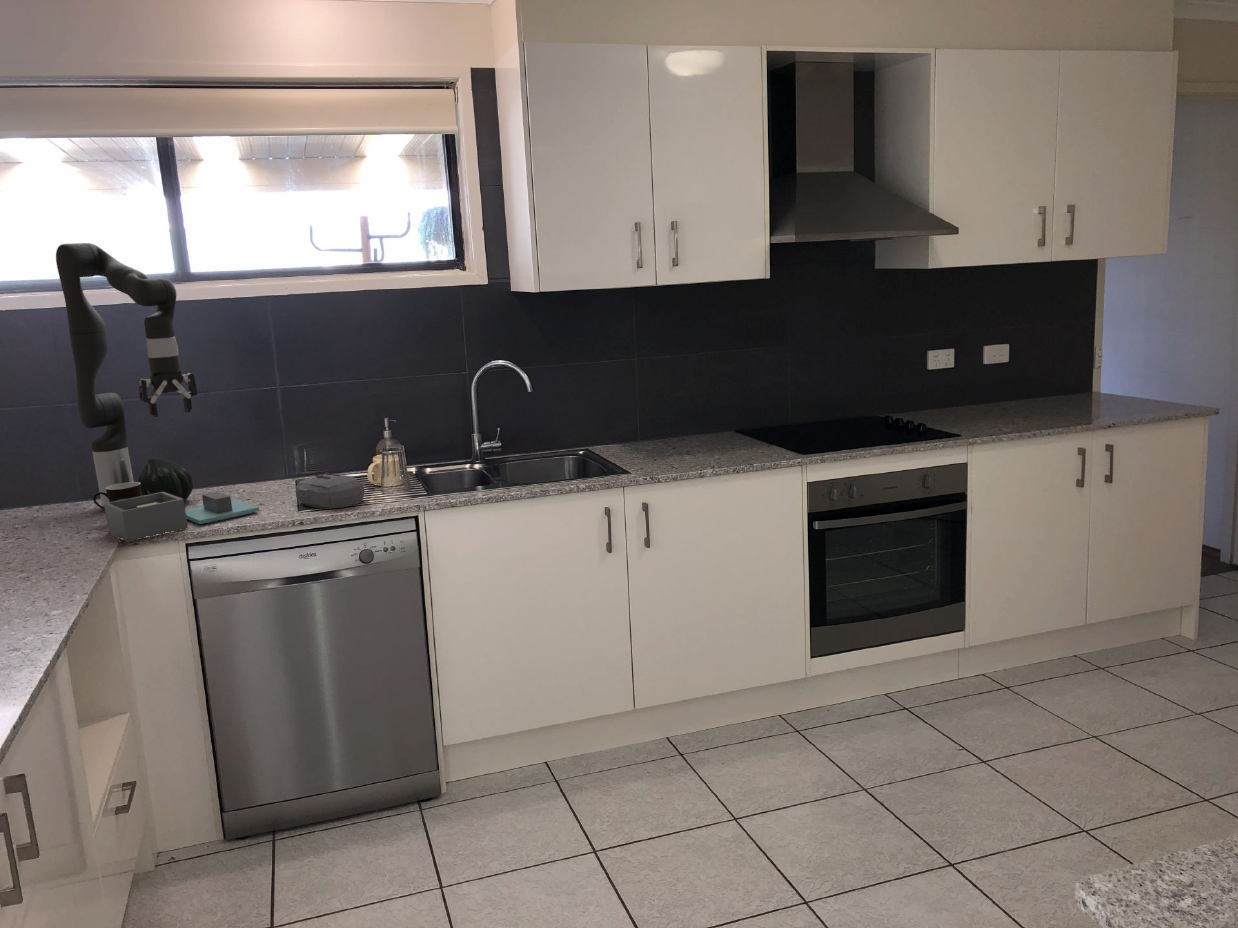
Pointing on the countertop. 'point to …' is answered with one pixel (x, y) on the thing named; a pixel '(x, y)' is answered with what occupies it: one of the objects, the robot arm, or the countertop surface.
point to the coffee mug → (120, 492)
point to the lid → (219, 508)
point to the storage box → (145, 516)
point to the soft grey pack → (330, 491)
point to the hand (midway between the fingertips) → (171, 414)
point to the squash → (165, 479)
